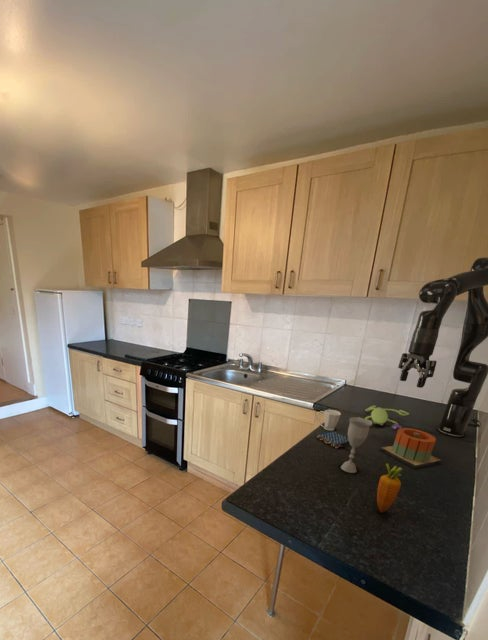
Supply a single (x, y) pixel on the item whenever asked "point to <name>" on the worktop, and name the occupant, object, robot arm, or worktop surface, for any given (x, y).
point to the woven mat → (333, 439)
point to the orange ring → (415, 440)
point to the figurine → (383, 416)
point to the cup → (330, 419)
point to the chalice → (356, 439)
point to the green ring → (411, 453)
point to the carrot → (388, 488)
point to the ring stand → (389, 448)
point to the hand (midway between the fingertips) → (410, 383)
